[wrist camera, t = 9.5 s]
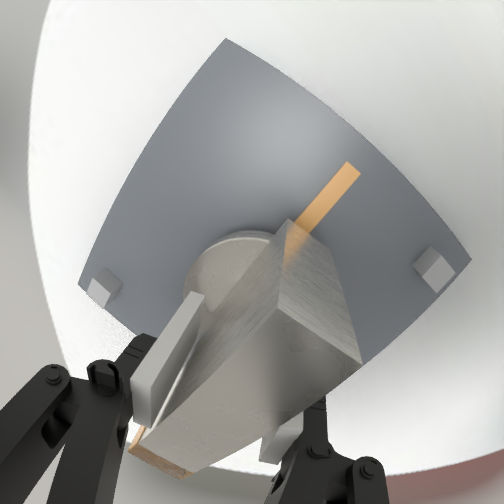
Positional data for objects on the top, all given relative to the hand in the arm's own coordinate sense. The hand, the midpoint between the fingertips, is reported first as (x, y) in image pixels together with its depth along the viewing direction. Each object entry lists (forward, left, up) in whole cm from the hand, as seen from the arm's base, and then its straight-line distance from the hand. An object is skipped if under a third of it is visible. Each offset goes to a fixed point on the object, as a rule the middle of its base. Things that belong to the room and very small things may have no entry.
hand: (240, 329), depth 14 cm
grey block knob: (0, 0, -4) cm, 4 cm away
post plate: (0, 0, -8) cm, 8 cm away
